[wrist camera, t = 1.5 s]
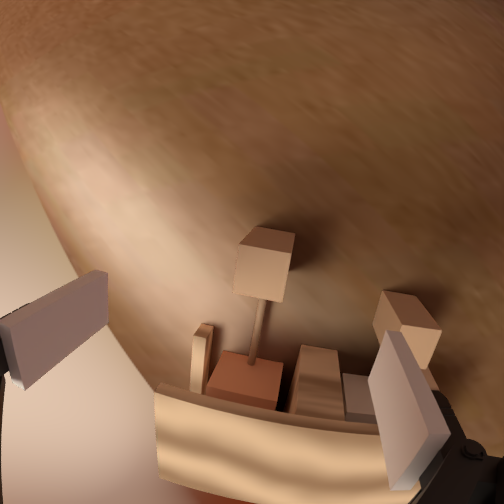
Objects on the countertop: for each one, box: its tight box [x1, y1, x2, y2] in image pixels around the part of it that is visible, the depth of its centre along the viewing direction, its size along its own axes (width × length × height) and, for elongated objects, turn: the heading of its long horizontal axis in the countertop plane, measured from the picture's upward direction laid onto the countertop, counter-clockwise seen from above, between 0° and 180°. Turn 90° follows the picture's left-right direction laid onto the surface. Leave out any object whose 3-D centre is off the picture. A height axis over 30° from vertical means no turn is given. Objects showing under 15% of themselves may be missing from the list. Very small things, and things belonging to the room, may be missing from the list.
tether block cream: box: [341, 290, 442, 424], centre depth 26 cm, size 15×6×7 cm, turn 171°
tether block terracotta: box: [206, 226, 295, 411], centre depth 27 cm, size 19×6×7 cm, turn 171°
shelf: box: [154, 324, 440, 504], centre depth 25 cm, size 11×23×11 cm, turn 81°
